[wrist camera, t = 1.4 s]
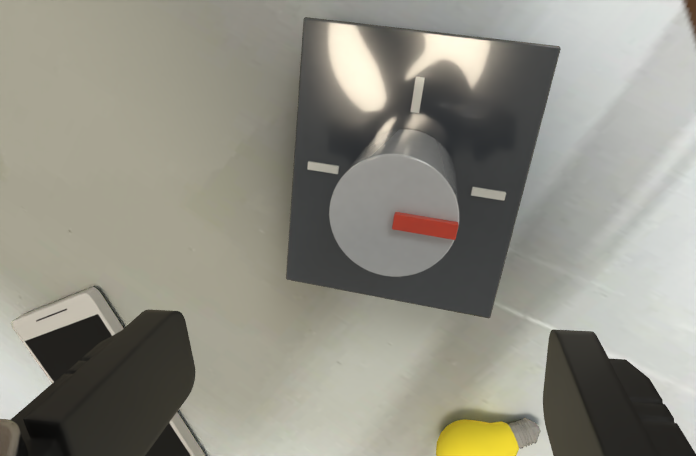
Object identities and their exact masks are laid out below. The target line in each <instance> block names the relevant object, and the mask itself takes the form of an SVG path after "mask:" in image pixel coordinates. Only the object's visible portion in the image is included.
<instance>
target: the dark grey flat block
mask: <svg viewBox="0 0 696 456" xmlns="http://www.w3.org/2000/svg"><path fill="white" fill-rule="evenodd" d="M559 53H560V47H559V46H552V45H543V44H535V43H526V42H517V41H509V40H500V39H491V38H482V37H474V36H465V35H456V34H448V33H439V32H430V31H421V30H413V29H404V28H395V27H387V26H378V25H369V24H360V23H352V22H343V21H334V20H326V19H317V18H308V17H305V18H304V22H303V37H302V52H301V66H300V81H299V96H298V111H297V125H296V140H295V155H294V169H293V184H292V199H291V213H290V228H289V243H288V257H287V272H286V279H287V280H292V281H297V282H303V283H308V284H313V285H318V286H323V287H329V288H334V289H339V290H344V291H349V292H355V293H360V294H365V295H370V296H375V297H381V298H386V299H391V300H396V301H402V302H407V303H412V304H417V305H422V306H428V307H433V308H438V309H443V310H448V311H454V312H459V313H464V314H469V315H474V316H480V317H485V318H490V317H491V313H492V309H493V305H494V301H495V298H496V294H497V290H498V286H499V282H500V279H501V275H502V271H503V267H504V263H505V259H506V256H507V252H508V248H509V244H510V240H511V236H512V233H513V229H514V225H515V221H516V217H517V214H518V210H519V206H520V202H521V198H522V194H523V191H524V187H525V183H526V179H527V175H528V171H529V168H530V164H531V160H532V156H533V152H534V149H535V145H536V141H537V137H538V133H539V129H540V126H541V122H542V118H543V114H544V110H545V106H546V103H547V99H548V95H549V91H550V87H551V84H552V80H553V76H554V72H555V68H556V64H557V61H558V57H559ZM399 129H409V130H416V131H420V132H423V133H425V134H427V135H429V136H431V137H433V138H434V139H436V140H437V141H438V142H439V143H440V144H441V145H443V147H444V148H445V149H446V150H447V152H448V153H449V155H450V157H451V159H452V161H453V164H454V168H455V173H456V183H457V193H458V204H459V227H458V232H457V235H456V239H455V240H454V242H453V244H452V246H451V248H450V249H449V251H448V252H447V253H446V254H445V256H444V257H443V258H442V259H441V260H440V261H438V262H437V263H436V264H435V265H433V266H432V267H430V268H428V269H426V270H424V271H422V272H419V273H417V274H413V275H409V276H401V277H391V276H383V275H379V274H375V273H373V272H370V271H368V270H366V269H364V268H362V267H360V266H359V265H357V264H356V263H354V262H353V261H352V260H351V259H350V258H348V256H347V255H346V254H345V253H344V252H343V251H342V249H341V248H340V247H339V245H338V243H337V242H336V240H335V238H334V235H333V233H332V229H331V225H330V219H329V207H330V201H331V197H332V194H333V191H334V189H335V187H336V185H337V183H338V182H339V180H340V179H341V177H342V176H343V175H344V174H345V172H346V171H347V170H348V168H349V167H350V166H351V165H352V163H353V162H354V161H355V159H356V158H357V157H358V156H359V154H360V153H361V152H362V150H363V149H364V148H365V147H366V146H367V145H368V144H369V143H370V142H371V141H372V140H373V139H375V138H376V137H378V136H380V135H382V134H384V133H386V132H389V131H393V130H399Z"/></svg>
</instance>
